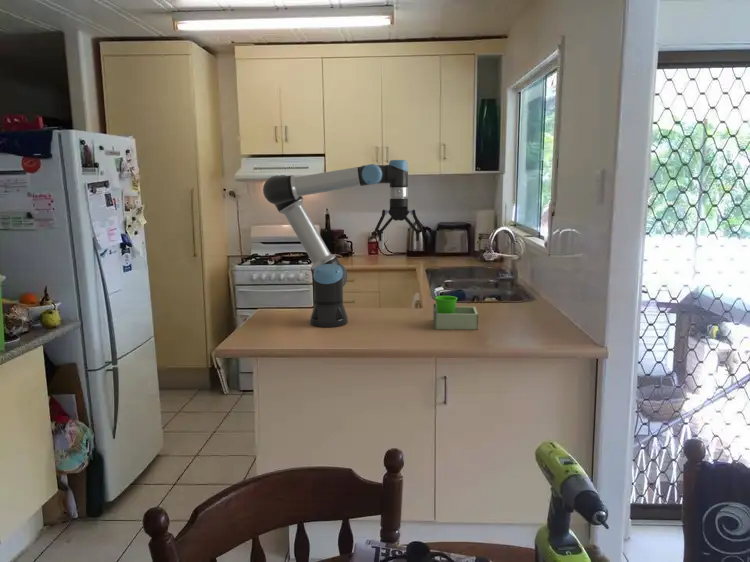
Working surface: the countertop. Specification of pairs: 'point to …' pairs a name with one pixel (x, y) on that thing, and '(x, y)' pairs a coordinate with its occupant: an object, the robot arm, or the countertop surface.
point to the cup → (446, 304)
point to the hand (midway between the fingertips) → (398, 249)
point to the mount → (456, 318)
